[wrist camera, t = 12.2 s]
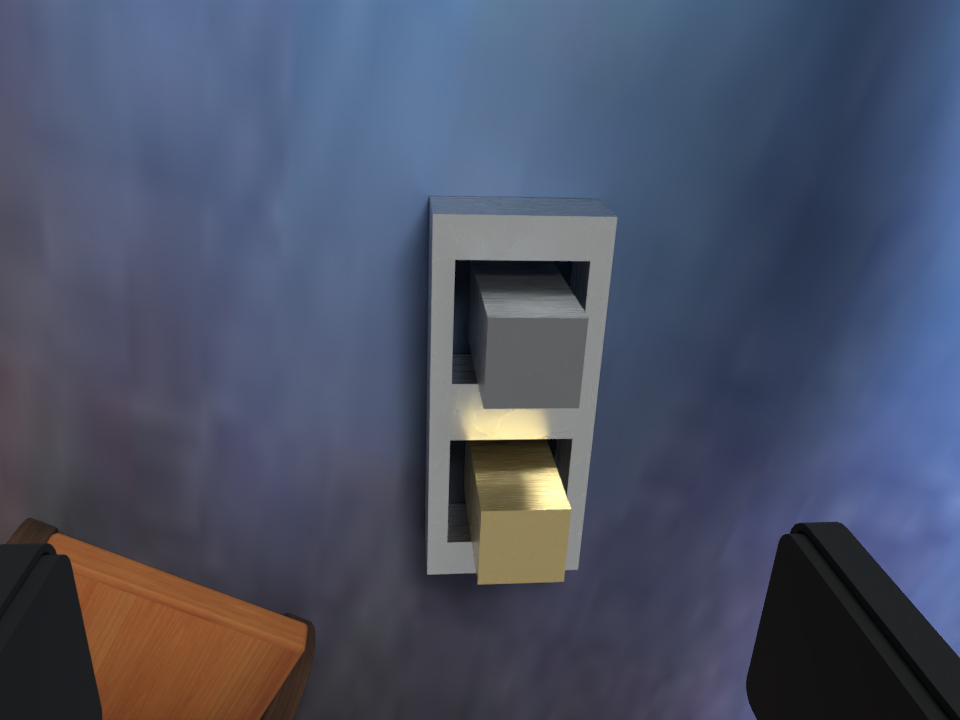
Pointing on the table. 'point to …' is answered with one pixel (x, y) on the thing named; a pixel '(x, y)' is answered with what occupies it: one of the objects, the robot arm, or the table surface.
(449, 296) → the grey block holder tray
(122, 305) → the table surface
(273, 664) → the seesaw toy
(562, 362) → the seated steel block
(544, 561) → the brass block
